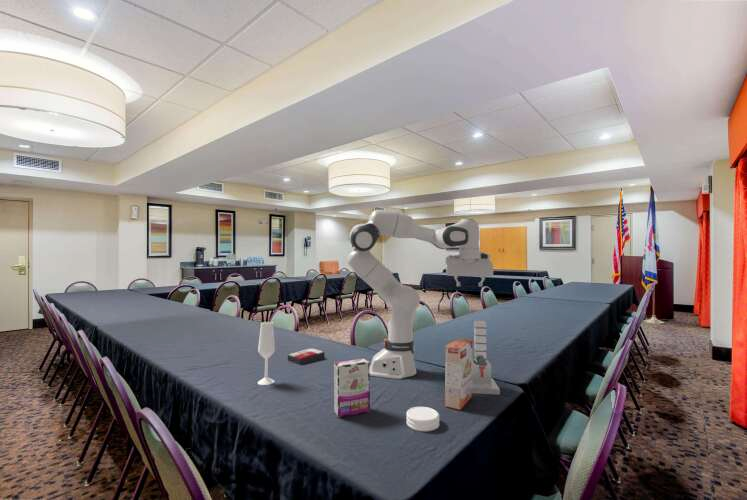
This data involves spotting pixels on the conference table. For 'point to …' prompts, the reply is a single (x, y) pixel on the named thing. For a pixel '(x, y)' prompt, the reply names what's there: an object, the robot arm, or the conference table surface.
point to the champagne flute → (266, 348)
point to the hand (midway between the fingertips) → (469, 286)
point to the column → (479, 341)
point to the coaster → (422, 418)
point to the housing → (483, 378)
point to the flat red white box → (306, 356)
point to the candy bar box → (351, 387)
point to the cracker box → (458, 373)
